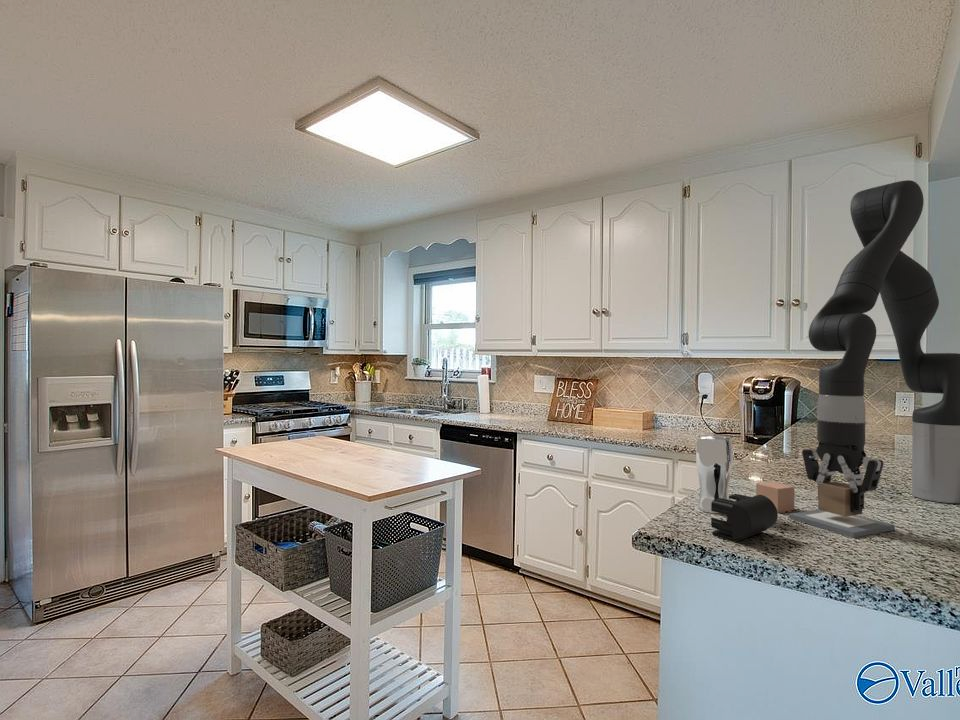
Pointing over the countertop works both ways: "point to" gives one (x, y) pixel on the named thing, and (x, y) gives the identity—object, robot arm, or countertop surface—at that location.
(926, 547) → the countertop surface
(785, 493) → the terracotta block
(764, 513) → the end cap
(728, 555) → the countertop surface
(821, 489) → the walnut block
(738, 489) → the countertop surface
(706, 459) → the beer glass
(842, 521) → the plate
